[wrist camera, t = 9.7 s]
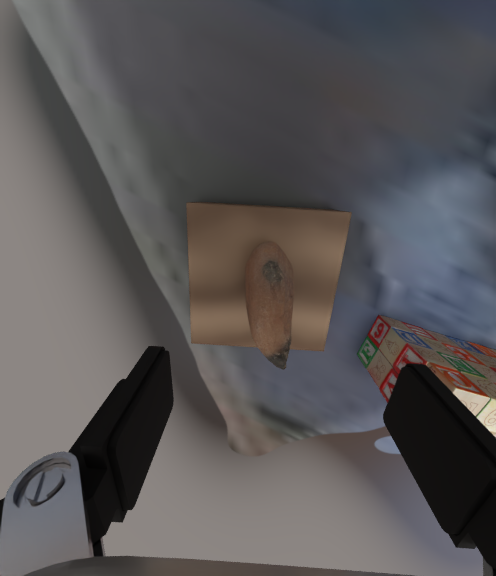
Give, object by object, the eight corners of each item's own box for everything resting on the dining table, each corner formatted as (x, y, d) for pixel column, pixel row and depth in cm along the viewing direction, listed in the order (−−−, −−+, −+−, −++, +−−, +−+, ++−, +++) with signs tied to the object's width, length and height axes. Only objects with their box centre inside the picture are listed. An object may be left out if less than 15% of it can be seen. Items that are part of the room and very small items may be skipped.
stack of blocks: (527, 357, 31) (691, 453, 19) (496, 393, 33) (626, 498, 21) (377, 313, 29) (458, 389, 17) (354, 354, 31) (413, 445, 20)
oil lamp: (293, 322, 24) (310, 379, 16) (253, 327, 24) (253, 385, 17) (285, 233, 21) (302, 253, 13) (239, 239, 21) (231, 262, 14)
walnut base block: (199, 201, 25) (186, 202, 20) (333, 209, 25) (351, 212, 20) (201, 320, 30) (191, 343, 25) (312, 327, 30) (323, 351, 25)
